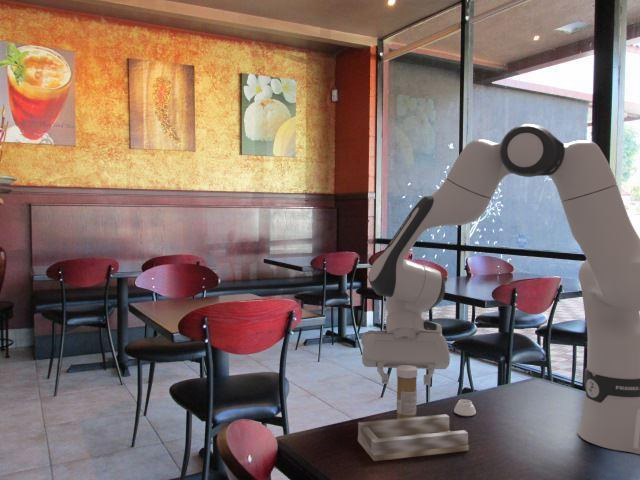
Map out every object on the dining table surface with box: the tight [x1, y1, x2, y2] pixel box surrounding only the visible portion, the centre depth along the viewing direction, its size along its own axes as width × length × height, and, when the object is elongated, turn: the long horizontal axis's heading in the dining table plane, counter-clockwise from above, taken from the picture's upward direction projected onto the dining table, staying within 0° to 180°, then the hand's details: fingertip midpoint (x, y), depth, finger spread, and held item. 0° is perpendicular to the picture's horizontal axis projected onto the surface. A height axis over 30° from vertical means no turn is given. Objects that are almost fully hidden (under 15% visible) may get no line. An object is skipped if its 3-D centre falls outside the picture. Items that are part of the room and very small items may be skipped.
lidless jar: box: [453, 399, 477, 417], centre depth 134 cm, size 5×3×5 cm
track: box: [357, 413, 470, 462], centre depth 114 cm, size 20×10×4 cm, turn 104°
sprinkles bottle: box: [396, 365, 418, 419], centre depth 125 cm, size 5×5×14 cm
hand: (406, 383), depth 126 cm, fingers open, 8 cm apart
